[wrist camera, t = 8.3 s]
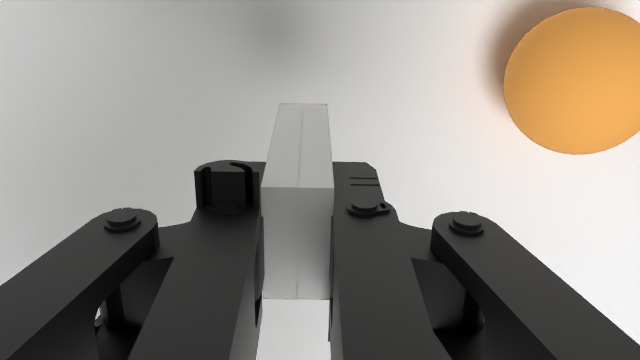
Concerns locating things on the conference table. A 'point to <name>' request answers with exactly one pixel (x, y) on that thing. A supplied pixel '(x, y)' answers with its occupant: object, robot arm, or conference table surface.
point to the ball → (576, 81)
